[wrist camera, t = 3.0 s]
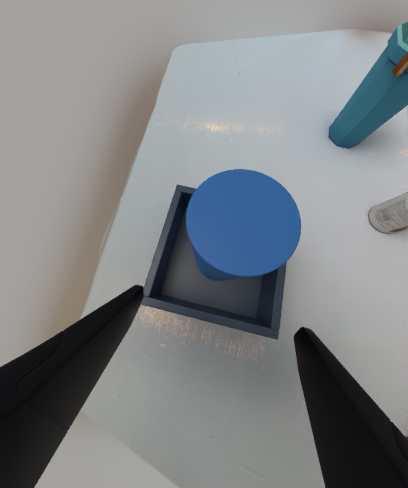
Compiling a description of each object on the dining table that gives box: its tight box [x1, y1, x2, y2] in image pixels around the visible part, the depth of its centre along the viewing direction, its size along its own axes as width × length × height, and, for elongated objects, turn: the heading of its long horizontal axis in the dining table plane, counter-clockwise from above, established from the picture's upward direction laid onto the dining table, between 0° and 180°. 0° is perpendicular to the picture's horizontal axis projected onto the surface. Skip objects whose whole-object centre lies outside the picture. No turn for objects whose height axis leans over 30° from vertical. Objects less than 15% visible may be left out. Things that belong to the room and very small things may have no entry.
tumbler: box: [186, 169, 301, 281], centre depth 14 cm, size 6×6×13 cm
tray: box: [141, 185, 287, 339], centre depth 18 cm, size 14×14×5 cm
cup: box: [329, 22, 408, 148], centre depth 19 cm, size 14×8×15 cm, turn 141°
